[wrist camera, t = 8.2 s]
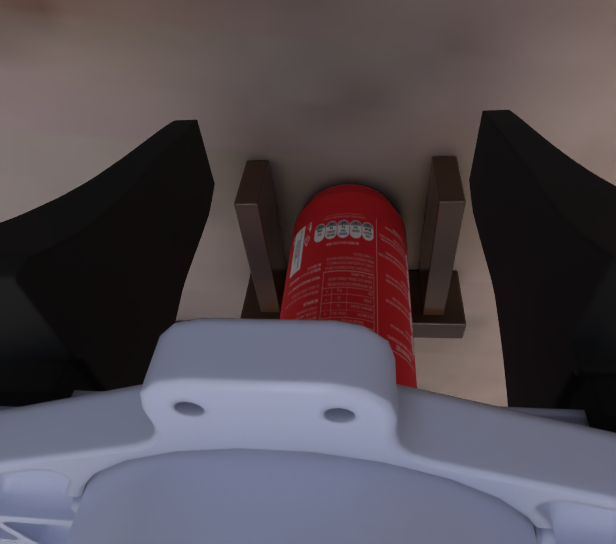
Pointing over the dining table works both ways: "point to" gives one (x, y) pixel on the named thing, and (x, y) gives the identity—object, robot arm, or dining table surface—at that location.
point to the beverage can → (353, 268)
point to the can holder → (423, 284)
